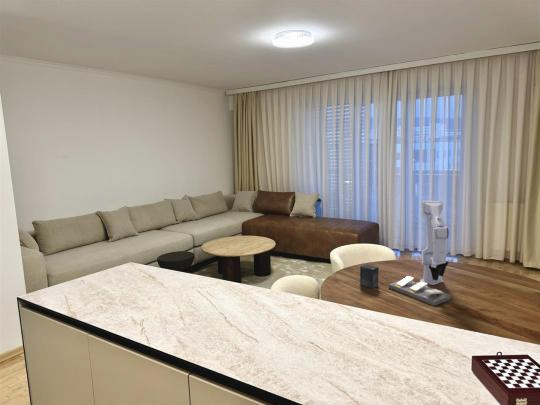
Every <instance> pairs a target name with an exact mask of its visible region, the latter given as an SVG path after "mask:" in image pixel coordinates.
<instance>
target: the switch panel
mask: <svg viewBox="0 0 540 405" xmlns="http://www.w3.org/2000/svg"><path fill="white" fill-rule="evenodd" d="M401 280H402V279H400V280H398V281H395V282H391V283H389V284H388V289H391V290H392V291H393V290H394V291H397V292H398V293H400V294H404V295H406V296H408V297H411V298H412V299H416V300H419V301H421V302H423V303H426V304H429V305H431V306H433V307H436V306H438V305H440V304H442V303H445V302H447V301H450V300H452V295H451V294H448V293H445V292H443V291H442V293H440V294H429V293H426V292H424V290H433V289H434V288H432V287H430V286H428V285H427V286H425V287H423V288H422V289H420V290H418V291H417V292H415V291H413V290H410V288H411V287H412V286H414V285H416V284H417V283H418V282H415V281H414V280H412V281H411V282H409V283H408V284H406V285H405V286H404V287H401V286H398V285H397V283H398V282H400V281H401Z"/></svg>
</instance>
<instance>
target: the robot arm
mask: <svg viewBox="0 0 540 405" xmlns="http://www.w3.org/2000/svg"><path fill="white" fill-rule="evenodd" d="M443 208H444V204H443V201H442V200H422V202H421V216H422V217H424V219H425V224H426V225H425V227H426V228H425V229H426V230H425V231H426V247H425V248H424V249H423V250H422V251H421V257H420V262H421V265H422V266H423V278H421V279H419V282H421V281H422V282H425V283H428V285H431V286H434V285H437V284H440V283H443V282H444V280H443V278H442V277H443V276H444V275H445V272H446V269H447V266H448V265H449V261H447V244H448V243H447V241H448V239H449V238H450V237H449V235H450V230H449V227H448V226H447V225H446V224H445V220H444V218H443V217H441V215H442V212H443Z"/></svg>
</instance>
